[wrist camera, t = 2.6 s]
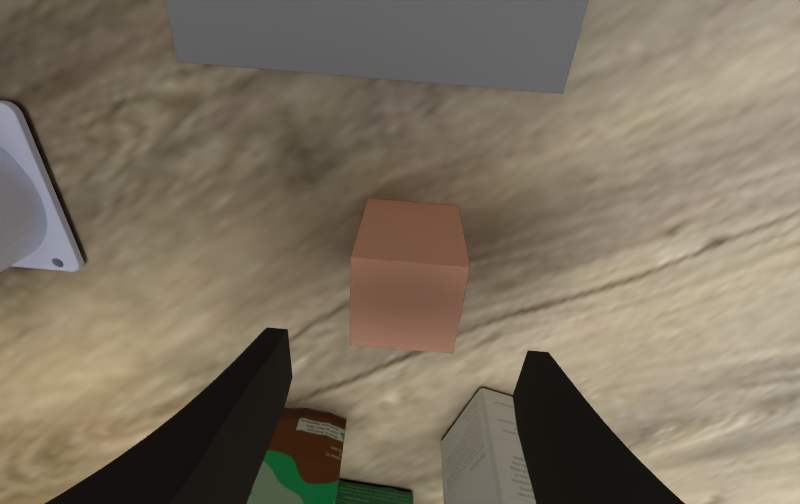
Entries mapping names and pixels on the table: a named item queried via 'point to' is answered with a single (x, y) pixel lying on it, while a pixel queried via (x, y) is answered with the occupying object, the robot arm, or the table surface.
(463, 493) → the product box
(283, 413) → the food container
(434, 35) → the mat
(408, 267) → the block
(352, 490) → the coffee box
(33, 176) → the robot arm
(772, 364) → the table surface
